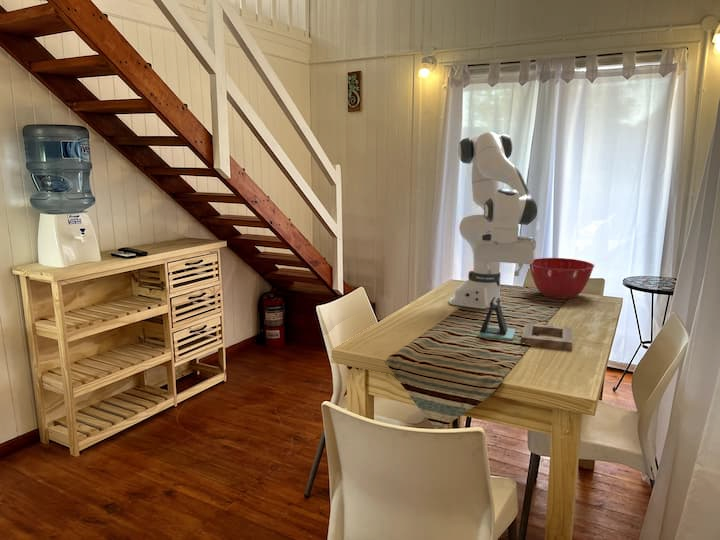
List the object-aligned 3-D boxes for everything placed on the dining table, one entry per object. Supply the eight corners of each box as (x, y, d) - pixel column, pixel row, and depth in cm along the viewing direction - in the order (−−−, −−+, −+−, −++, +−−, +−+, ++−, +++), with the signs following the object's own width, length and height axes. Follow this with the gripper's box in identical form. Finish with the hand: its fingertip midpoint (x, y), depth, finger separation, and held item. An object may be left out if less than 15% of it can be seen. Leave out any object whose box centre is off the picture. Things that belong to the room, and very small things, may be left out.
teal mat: (477, 336, 191) (477, 334, 191) (482, 327, 202) (482, 325, 202) (512, 340, 187) (512, 338, 187) (515, 330, 198) (515, 328, 198)
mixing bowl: (587, 306, 233) (590, 271, 230) (520, 298, 247) (522, 264, 244) (595, 292, 257) (597, 260, 254) (533, 286, 271) (535, 256, 268)
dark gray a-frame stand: (507, 330, 196) (509, 298, 194) (505, 335, 191) (507, 302, 188) (482, 327, 199) (483, 295, 197) (479, 332, 194) (481, 299, 192)
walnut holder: (521, 344, 183) (521, 337, 183) (524, 329, 200) (525, 322, 199) (571, 349, 178) (572, 342, 177) (571, 334, 194) (571, 327, 194)
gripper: (536, 236, 188) (534, 275, 191) (477, 233, 195) (475, 270, 198) (535, 238, 183) (532, 278, 185) (474, 235, 190) (472, 274, 193)
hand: (502, 274), depth 192 cm, fingers open, 8 cm apart
